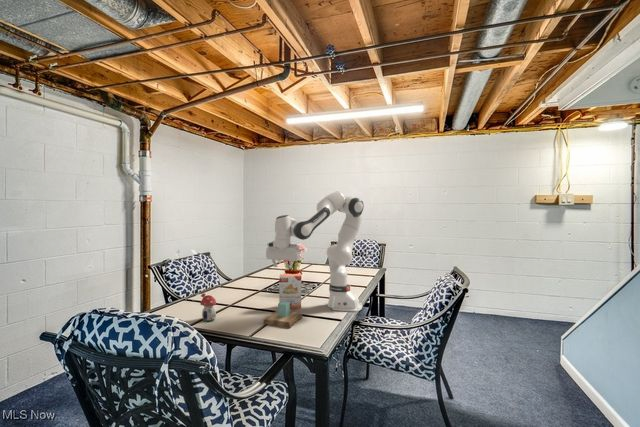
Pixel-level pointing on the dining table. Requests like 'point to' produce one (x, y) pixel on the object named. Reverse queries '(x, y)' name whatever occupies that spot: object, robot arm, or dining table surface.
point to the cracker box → (290, 289)
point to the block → (283, 309)
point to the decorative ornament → (208, 308)
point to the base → (283, 319)
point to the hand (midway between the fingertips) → (282, 267)
